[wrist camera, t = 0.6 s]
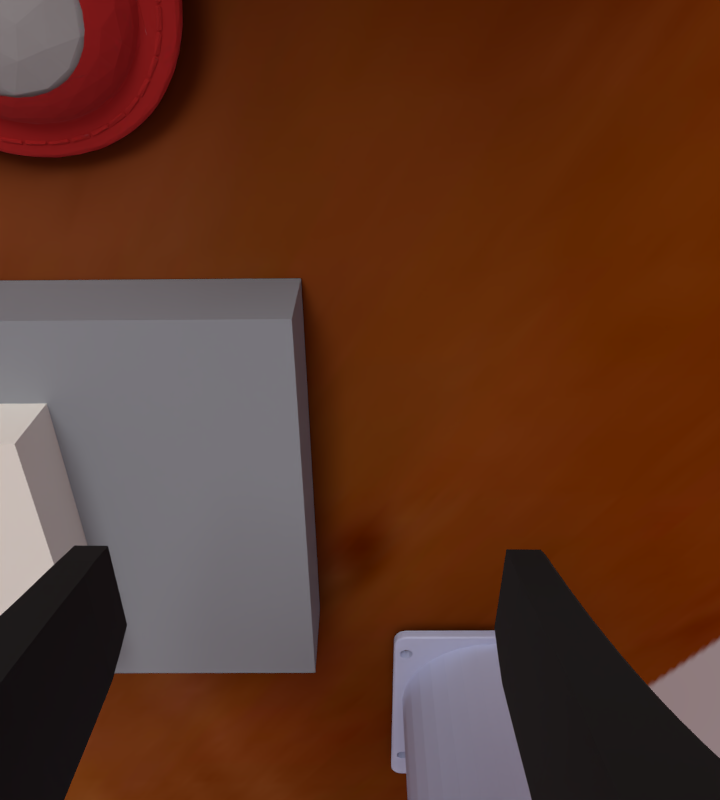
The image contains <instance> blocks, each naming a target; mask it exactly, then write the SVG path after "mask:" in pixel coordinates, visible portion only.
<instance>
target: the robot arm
mask: <svg viewBox="0 0 720 800" xmlns="http://www.w3.org/2000/svg"><path fill="white" fill-rule="evenodd" d="M126 628H127V622H126V618H125V614H124V610H123V606H122V602H121V598H120V593H119V589H118V585H117V581H116V577H115V573H114V569H113V565H112V561H111V556H110V552H109V548H108V546H78V545H74V546H73V547H72V548H71V549H70V550H69V551H68V552H67V553H66V554H65V555H64V556H63V557H62V558H60V559H59V560H58V561H57V562H56V563H55V564H54V565H53V566H52V567H51V568H50V569H49V570H48V571H47V572H46V573H45V574H44V575H43V576H42V577H40V578H39V579H38V580H37V581H36V582H35V583H34V584H33V585H32V586H31V587H30V588H29V589H28V590H27V591H26V592H25V593H24V594H23V595H22V596H21V597H20V598H18V599H17V600H16V601H15V602H14V603H13V604H12V605H11V606H10V607H9V608H8V609H7V610H6V611H5V612H4V613H2V614H1V615H0V800H64V799H65V796H66V794H67V791H68V789H69V786H70V784H71V781H72V779H73V777H74V774H75V772H76V769H77V767H78V764H79V762H80V759H81V757H82V754H83V752H84V750H85V747H86V745H87V742H88V740H89V737H90V735H91V732H92V730H93V728H94V725H95V723H96V720H97V718H98V715H99V713H100V710H101V708H102V705H103V703H104V700H105V698H106V695H107V693H108V690H109V687H110V685H111V682H112V680H113V676H114V673H115V669H116V666H117V662H118V659H119V655H120V651H121V647H122V643H123V639H124V636H125V632H126ZM405 650H406V651H405ZM391 768H392V770H394V771H395V772H397V773H406V778H407V796H408V800H720V758H719V757H718V756H716V755H715V754H714V753H713V752H712V751H711V750H710V749H709V748H708V747H707V746H706V745H705V744H704V743H703V742H702V741H701V740H700V739H699V738H698V737H697V736H696V735H695V734H694V733H692V731H691V730H690V729H688V728H687V726H685V725H684V724H683V723H682V722H681V721H680V720H679V719H678V718H677V716H676V715H675V714H674V713H673V712H672V711H671V710H670V709H669V708H668V707H667V706H666V705H665V704H664V703H663V702H662V701H661V700H660V699H659V698H658V696H656V694H655V693H654V692H653V691H652V690H651V689H650V688H649V687H648V685H647V684H646V683H645V682H644V681H643V680H642V679H641V678H640V676H639V675H638V674H637V673H636V672H635V671H634V670H633V669H632V667H631V666H630V665H629V664H628V663H627V662H626V660H625V659H624V658H623V657H622V656H621V654H620V653H619V652H618V651H617V650H616V648H615V647H614V646H613V645H612V643H611V642H610V641H609V640H608V638H607V637H606V636H605V635H604V634H603V632H602V631H601V630H600V629H599V627H598V626H597V625H596V624H595V622H594V621H593V620H592V618H591V617H590V616H589V615H588V613H587V612H586V611H585V609H584V608H583V607H582V605H581V604H580V603H579V601H578V600H577V599H576V597H575V596H574V595H573V593H572V592H571V590H570V589H569V588H568V586H567V585H566V584H565V582H564V581H563V579H562V578H561V577H560V575H559V574H558V572H557V571H556V569H555V568H554V567H553V565H552V564H551V562H550V561H549V559H548V558H547V556H546V555H545V554H544V553H543V552H542V551H541V550H506V556H505V563H504V570H503V576H502V583H501V589H500V596H499V602H498V609H497V615H496V622H495V630H447V631H401V632H399V633H397V634H396V635H395V637H394V655H393V697H392V740H391Z"/></svg>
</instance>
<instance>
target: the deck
mask: <svg viewBox="0 0 720 800" xmlns="http://www.w3.org/2000/svg"><path fill="white" fill-rule="evenodd" d="M38 403H47V406H48V410H49V413H50V417H51V420H52V424H53V427H54V431H55V434H56V438H57V441H58V445H59V448H60V451H61V455H62V458H63V462H64V465H65V469H66V472H67V476H68V479H69V483H70V486H71V490H72V493H73V497H74V500H75V504H76V507H77V510H78V514H79V517H80V521H81V524H82V528H83V531H84V535H85V538H86V542H87V545H88V546H108V548H109V552H110V556H111V561H112V565H113V569H114V573H115V577H116V581H117V585H118V589H119V593H120V598H121V602H122V606H123V610H124V614H125V618H126V622H127V628H126V632H125V636H124V639H123V643H122V647H121V651H120V655H119V659H118V662H117V666H116V669H115V673H315V669H316V656H317V642H318V628H319V615H320V602H319V584H318V566H317V549H316V531H315V514H314V496H313V479H312V461H311V444H310V426H309V409H308V391H307V374H306V356H305V338H304V321H303V303H302V286H301V278H293V279H158V280H22V281H0V404H38Z"/></svg>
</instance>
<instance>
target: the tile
mask: <svg viewBox="0 0 720 800" xmlns="http://www.w3.org/2000/svg"><path fill="white" fill-rule="evenodd" d="M74 545H78V546H88V545H87V542H86V538H85V535H84V531H83V528H82V524H81V521H80V517H79V514H78V510H77V507H76V504H75V500H74V497H73V493H72V490H71V486H70V483H69V479H68V476H67V472H66V469H65V465H64V462H63V458H62V455H61V451H60V448H59V445H58V441H57V438H56V434H55V431H54V427H53V424H52V420H51V417H50V413H49V410H48V406H47V403H38V404H0V615H1V614H2V613H4V612H5V611H6V610H7V609H8V608H9V607H10V606H11V605H12V604H13V603H14V602H15V601H16V600H17V599H18V598H20V597H21V596H22V595H23V594H24V593H25V592H26V591H27V590H28V589H29V588H30V587H31V586H32V585H33V584H34V583H35V582H36V581H37V580H38V579H39V578H40V577H42V576H43V575H44V574H45V573H46V572H47V571H48V570H49V569H50V568H51V567H52V566H53V565H54V564H55V563H56V562H57V561H58V560H59V559H60V558H62V557H63V556H64V555H65V554H66V553H67V552H68V551H69V550H70V549H71V548H72V547H73V546H74Z"/></svg>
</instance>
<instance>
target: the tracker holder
mask: <svg viewBox="0 0 720 800" xmlns="http://www.w3.org/2000/svg"><path fill="white" fill-rule="evenodd" d="M182 29H183V10H182V0H0V151H2V152H6V153H10V154H16V155H23V156H30V157H51V158H59V157H66V156H72V155H78V154H84V153H88V152H91V151H95V150H99V149H102V148H104V147H107V146H109V145H111V144H113V143H115V142H116V141H118V140H120V139H122V138H124V137H125V136H127V135H128V134H130V133H131V132H133V131H134V130H135V129H136V128H137V127H138V126H140V125H141V124H142V123H143V122H144V121H145V120H146V119H147V118H148V117H149V116H150V115H151V114H152V112H153V111H154V110H155V108H156V107H157V106H158V104H159V103H160V101H161V99H162V97H163V95H164V94H165V92H166V90H167V88H168V85H169V83H170V81H171V78H172V76H173V74H174V71H175V68H176V64H177V60H178V56H179V52H180V45H181V37H182Z"/></svg>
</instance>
